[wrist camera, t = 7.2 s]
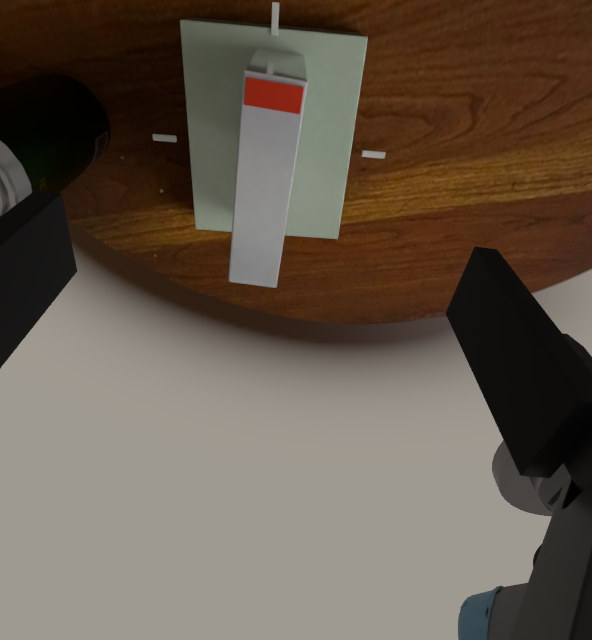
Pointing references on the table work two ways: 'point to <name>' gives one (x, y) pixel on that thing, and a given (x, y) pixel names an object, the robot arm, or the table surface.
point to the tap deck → (225, 105)
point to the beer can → (47, 135)
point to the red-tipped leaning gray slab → (266, 163)
